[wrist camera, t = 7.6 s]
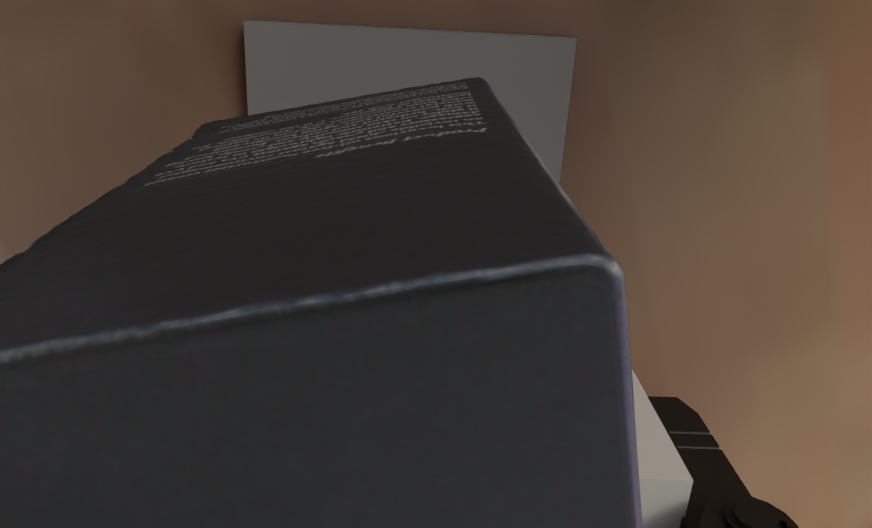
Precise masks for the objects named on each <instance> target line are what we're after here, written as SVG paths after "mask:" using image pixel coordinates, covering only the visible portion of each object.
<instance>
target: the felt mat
mask: <svg viewBox="0 0 872 528" xmlns="http://www.w3.org/2000/svg"><path fill="white" fill-rule="evenodd" d="M243 22H244V43H245V64H246V85H247V106H248V115H254V114H259V113H264V112H270V111H278V110H284V109H289V108H296V107H301V106H305V105H311V104H318V103H323V102H329V101H335V100H341V99H346V98H353V97H358V96H363V95H369V94H375V93H382V92H388V91H396V90H399V89H403V88H409V87H417V86H424V85H429V84H437V83H442V82H449V81H455V80H461V79H466V78H476V77H481V78H483V79H485V80H486V81H487V82H488V84H489V85H490V86H491V88H492V89H493V90H494V92H495V93H496V95H497V96H498V98H499V100H500V101H501V102H502V104H503V106H504V107H505V109H506V110H507V112H508V113H509V115H510V116H511V117H512V119H513V120H514V122H515V123H516V124H517V126H518V128H519V129H520V131H521V132H522V134H523V135H524V136H525V138H526V139H527V140H528V142H529V143H530V144H531V146H532V147H533V149H534V150H535V152H536V153H537V154H538V156H539V157H540V159H541V160H542V161H543V163H544V164H545V166H546V168H547V169H548V170H549V172H550V173H551V174H552V176H553V177H554V178H555V180H556V181H557V182H558V184H559V185H560V178H561V170H562V162H563V153H564V145H565V137H566V128H567V120H568V112H569V104H570V95H571V87H572V79H573V70H574V62H575V54H576V46H577V38H575V37H565V36H546V35H527V34H508V33H489V32H470V31H452V30H433V29H414V28H395V27H376V26H357V25H338V24H320V23H301V22H282V21H263V20H245V21H243Z"/></svg>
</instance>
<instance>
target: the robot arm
mask: <svg viewBox="0 0 872 528" xmlns="http://www.w3.org/2000/svg"><path fill="white" fill-rule="evenodd" d="M632 378H633V393H634V409H635V425H636V441H637V456H638V470H639V484H640V498H641V511H642V525H643V528H798V526H797V524H796V523H795V522H794V521H793V520H792V519H791V518H790V517H789V516H788V515H787V514H786V513H784V512H783V511H781V510H779V509H778V508H776V507H774V506H773V505H771V504H769V503H767V502H765V501H762V500H759V499H756V498H754V497H752V496H751V495H750V493H749V492H748V490H747V489H746V487H745V486H744V484H743V482H742V481H741V479H740V478H739V476H738V475H737V473H736V472H735V470H734V469H733V467H732V465H731V464H730V462H729V461H728V459H727V458H726V456H725V455H724V453H723V451H722V450H719V445H718V444H717V442H716V441H715V439H714V438H713V436H712V435H710V434H709V432H710V431H709V430H708V428H707V427H706V425H705V424H704V422H703V420H702V419H701V417H700V416H699V414H698V413H697V412H695V411H694V410H693V409H692V408H690V407H689V406H688V405H686V404H685V403H684V402H682V401H681V400H680V399H678V398H677V397H650V396H647V395H646V393H645V391H644V389H643V388H642V386H641V384H640V382H639V380H638V379H637V377H636V375H635V373H634V371H633V369H632Z"/></svg>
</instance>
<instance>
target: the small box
mask: <svg viewBox="0 0 872 528" xmlns="http://www.w3.org/2000/svg"><path fill="white" fill-rule="evenodd" d="M0 528H643V525H642V511H641V498H640V484H639V470H638V456H637V441H636V425H635V409H634V393H633V378H632V366H631V354H630V342H629V328H628V313H627V298H626V289H625V279H624V273H623V271H622V269H621V268H620V266H619V264H618V262H617V261H616V260H615V259H614V258H613V257H612V256H611V255H610V254H609V253H608V252H607V251H606V250H605V249H604V248H603V246H602V244H601V243H600V241H599V239H598V238H597V236H596V235H595V233H594V232H593V231H592V229H591V228H590V227H589V225H588V224H587V223H586V221H585V220H584V219H583V217H582V216H581V215H580V213H579V212H578V210H577V209H576V207H575V206H574V205H573V203H572V202H571V200H570V199H569V197H568V196H567V195H566V193H565V192H564V191H563V189H562V188H561V186H560V185H559V184H558V182H557V181H556V180H555V178H554V177H553V176H552V174H551V173H550V172H549V170H548V169H547V168H546V166H545V164H544V163H543V161H542V160H541V159H540V157H539V156H538V154H537V153H536V152H535V150H534V149H533V147H532V146H531V144H530V143H529V142H528V140H527V139H526V138H525V136H524V135H523V134H522V132H521V131H520V129H519V128H518V126H517V124H516V123H515V122H514V120H513V119H512V117H511V116H510V115H509V113H508V112H507V110H506V109H505V107H504V106H503V104H502V102H501V101H500V100H499V98H498V96H497V95H496V93H495V92H494V90H493V89H492V88H491V86H490V85H489V84H488V82H487V81H486V80H485V79H483V78H481V77H476V78H466V79H461V80H455V81H449V82H442V83H437V84H429V85H424V86H417V87H409V88H403V89H399V90H396V91H388V92H382V93H375V94H369V95H363V96H358V97H353V98H346V99H341V100H335V101H329V102H323V103H318V104H311V105H305V106H301V107H296V108H289V109H284V110H278V111H270V112H264V113H259V114H254V115H248V116H242V117H236V118H231V119H226V120H219V121H213V122H209V123H205V124H203V125H202V126H200V127H199V128H198V129H197V130H196V131H195V132H194V134H193V135H192V136H191V137H190V138H189V139H188V140H186V141H185V142H184V143H182V144H180V145H179V146H177V147H176V148H173V149H172V150H171V152H170V153H167V154H165V155H163V156H161V157H159V158H158V159H156V160H155V161H154V162H153V163H151V164H150V165H148V166H147V167H146V168H145V169H144V170H143V171H141V172H140V173H138V174H136V175H134V176H132V177H131V178H129V179H127V180H126V181H125V182H124V183H123V184H121V185H119V186H117V187H115V188H114V189H112V190H110V191H109V192H107V193H106V194H105V195H103V196H102V197H100V198H99V199H97V200H96V201H95V202H93V203H92V204H90V205H88V206H86V207H85V208H83V209H82V210H80V211H79V212H77V213H76V214H74V215H72V216H70V217H69V218H68V219H67V220H65V221H64V222H62V223H60V224H58V225H57V226H55V227H54V228H53V229H52V230H51V231H49V232H48V233H47V234H45V235H43V236H41V237H40V238H38V239H37V240H36V241H34V242H33V243H32V244H31V245H30V247H29V248H28V249H27V250H26V251H24V252H23V253H19V254H15V255H14V256H12V257H11V258H9V259H7V260H6V261H4V262H3V263H2V264H1V265H0Z"/></svg>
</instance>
